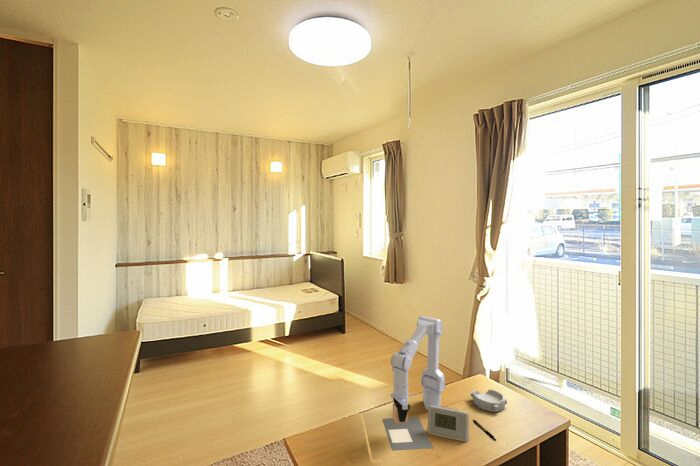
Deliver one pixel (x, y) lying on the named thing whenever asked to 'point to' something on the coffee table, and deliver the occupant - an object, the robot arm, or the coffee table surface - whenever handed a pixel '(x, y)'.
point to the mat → (406, 434)
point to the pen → (484, 429)
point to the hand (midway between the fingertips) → (400, 417)
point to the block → (395, 415)
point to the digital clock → (448, 423)
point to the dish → (489, 400)
